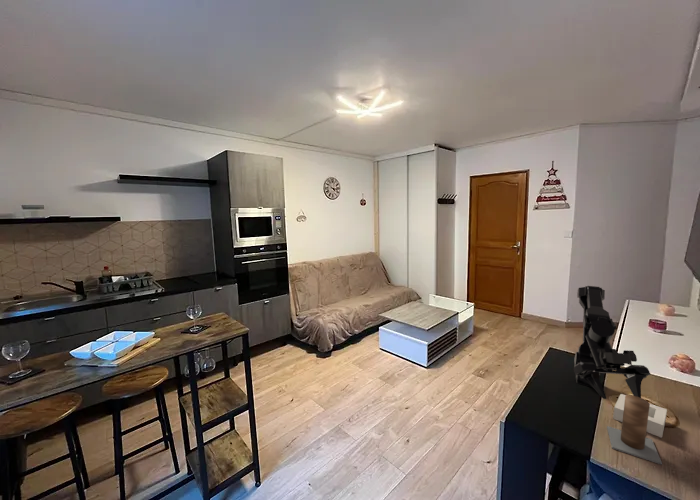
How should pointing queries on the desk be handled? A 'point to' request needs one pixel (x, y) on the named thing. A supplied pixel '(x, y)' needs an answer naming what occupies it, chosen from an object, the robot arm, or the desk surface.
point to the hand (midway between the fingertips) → (622, 400)
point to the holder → (654, 418)
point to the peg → (635, 422)
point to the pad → (646, 453)
